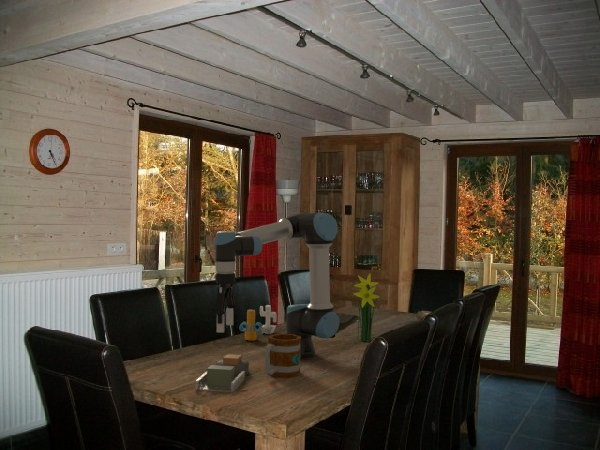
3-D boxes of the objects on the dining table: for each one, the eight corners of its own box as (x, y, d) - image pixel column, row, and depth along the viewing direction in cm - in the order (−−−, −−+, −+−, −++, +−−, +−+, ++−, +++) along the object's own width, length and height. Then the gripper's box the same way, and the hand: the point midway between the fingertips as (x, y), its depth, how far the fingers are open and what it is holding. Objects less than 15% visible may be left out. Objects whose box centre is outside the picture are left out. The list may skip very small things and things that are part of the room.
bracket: (244, 380, 219) (244, 371, 219) (233, 392, 203) (233, 383, 203) (208, 378, 221) (209, 369, 221) (195, 390, 205) (195, 380, 205)
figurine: (273, 335, 306) (274, 306, 306) (257, 333, 309) (257, 305, 309) (278, 332, 313) (278, 305, 313) (261, 331, 316) (262, 303, 316)
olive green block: (234, 382, 214) (234, 366, 214) (230, 386, 209) (231, 369, 209) (210, 381, 215) (211, 365, 215) (206, 384, 210) (207, 368, 210)
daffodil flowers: (377, 347, 282) (379, 276, 282) (348, 344, 287) (349, 274, 286) (382, 340, 299) (384, 273, 298) (354, 338, 303) (356, 271, 303)
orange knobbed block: (266, 339, 294) (266, 310, 294) (254, 343, 285) (254, 312, 285) (247, 336, 301) (248, 307, 301) (234, 339, 292) (235, 310, 292)
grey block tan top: (251, 370, 233) (252, 353, 233) (244, 379, 220) (244, 361, 220) (220, 368, 235) (221, 351, 235) (211, 377, 222) (211, 359, 222)
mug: (278, 368, 238) (279, 332, 238) (307, 373, 231) (307, 336, 231) (251, 379, 221) (252, 340, 221) (280, 385, 214) (281, 344, 214)
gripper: (224, 269, 230) (224, 321, 230) (206, 275, 205) (206, 335, 205) (242, 269, 229) (242, 322, 229) (226, 276, 204) (226, 335, 204)
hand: (225, 328), depth 217 cm, fingers open, 13 cm apart
